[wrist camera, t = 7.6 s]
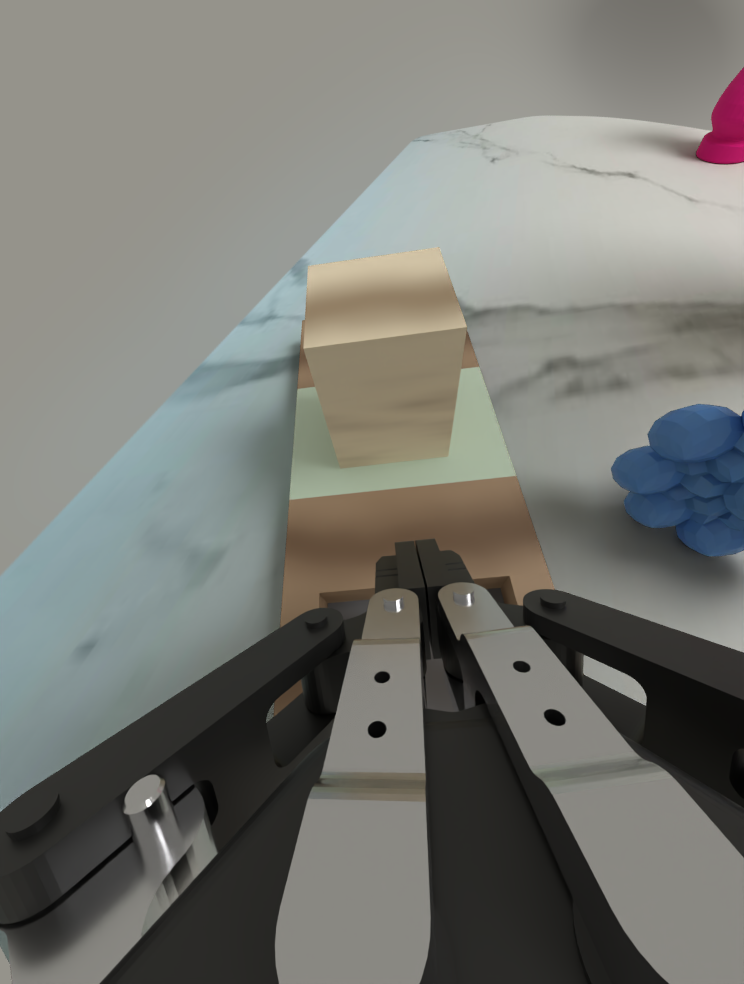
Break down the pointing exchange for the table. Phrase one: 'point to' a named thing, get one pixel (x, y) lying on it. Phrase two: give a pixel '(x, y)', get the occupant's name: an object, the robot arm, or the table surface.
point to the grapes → (690, 478)
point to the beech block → (385, 355)
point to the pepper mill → (726, 127)
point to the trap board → (406, 517)
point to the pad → (469, 459)
